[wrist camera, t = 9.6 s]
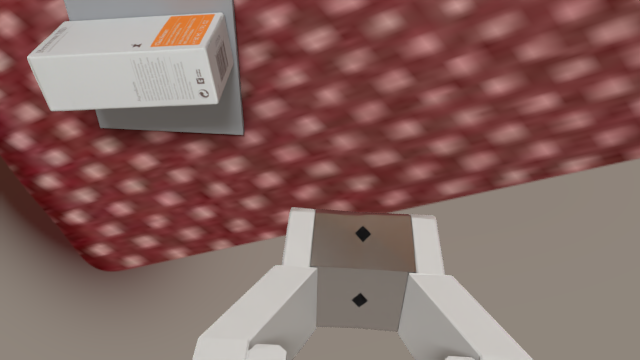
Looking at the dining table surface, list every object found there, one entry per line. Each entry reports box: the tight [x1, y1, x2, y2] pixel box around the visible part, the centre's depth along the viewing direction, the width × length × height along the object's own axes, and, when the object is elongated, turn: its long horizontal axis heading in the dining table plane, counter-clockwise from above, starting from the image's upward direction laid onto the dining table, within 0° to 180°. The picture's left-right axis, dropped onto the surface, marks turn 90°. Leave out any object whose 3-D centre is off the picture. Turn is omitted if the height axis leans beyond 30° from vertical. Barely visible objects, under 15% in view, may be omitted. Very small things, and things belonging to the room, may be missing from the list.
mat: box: [64, 0, 244, 135], centre depth 41 cm, size 12×14×1 cm
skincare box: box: [27, 12, 234, 111], centre depth 38 cm, size 6×4×12 cm
